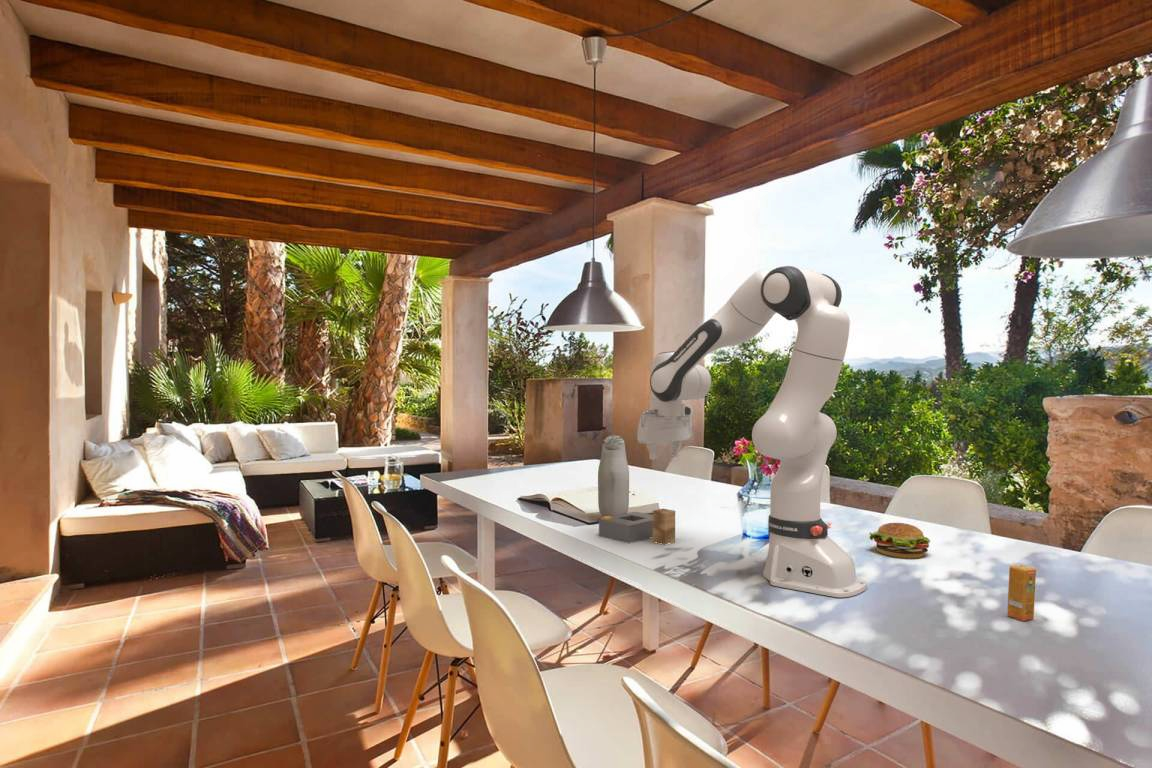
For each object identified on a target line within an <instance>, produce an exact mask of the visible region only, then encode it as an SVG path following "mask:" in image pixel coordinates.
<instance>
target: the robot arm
mask: <svg viewBox="0 0 1152 768" xmlns="http://www.w3.org/2000/svg"><path fill="white" fill-rule="evenodd" d="M842 297H843V295H842V289H841V286H840V284H839V283H838V282H837V281H836V280H835V278H833V277H831V276H830V275H827V274H825V273H820V272H817V271H814V270H813V269H809V268H804V267H795V266H793V265H792V266H791V265H786V266H779V267H778V266H777V267H776V268H773V269H771V270H770V269H766V268H765V269H759V270H756V271H755V272H754V273H753V274H751V275H750V276H749V277H748V278H747V279H746V280H745V281H744V282H742V283H741V285H740V286H739V287H738V288H737V289H736V290H735V291H734V293H732V295H731V297H730V298H728V300H727V301H726V302H725V304H724V305H723V306H722V307H720V309H719V310H718V311H717V312H716V313H714V314H713V315H712V316H711V317H709V319H708V320H706V321H705V322H704V323H702V324H701V325H700V326H699V327H698V328H697V329H695V331H693V333H692V334H690V335H689V336H688V338H687V339H686V340H685V341H684V342H683V343H682V344H681V345H680V347H678V348H677V350H675V351H664V352H660V353H657V354H656V355H654V358H653V361H652V365H651V374H650V379H649V386H650V390H651V394H650V397H649V398H650V399H649V400H650V402H649V409H645V410H644V411H643V412H642V413H641V415H640V419H639V421H638V428H637V437H636V439H637V441H638V444H642V445H646V449H647V451H648V454H649V455H648V457H649V460H654V461H655V460H658V452H656V447H657V445H656V444H665V443H672V445H673V446H672V449H671V450H670V457H672V458H678V457H679V454H680V453H679V451H680V450H681V447H682V443H683V442H684V441H690V438H691V437H692V431H693V430H692V429H693V422H692V421H693V420H692V417H691V416H693V408H692V407H691V406H689V405H686V404H685V403H682V402H683V401H688V400H689V401H690V400H691V401H692V400H700V399H703V398H705V397H707V396H708V394H709V393H710V391H711V389H712V385H713V379H712V376H711V372H710V371H709V369H708V368H707V367H706V366H703V365H700V364H699V363H700V362H701V361H702V360H703V359H704V358H705V357H706V356H707V355H709V354H710V353H712V352H714V351H716V350H719V349H721V348H725V347H730V346H735V345H741V344H745V343H747V342H749V341H750V340H752V339H753V338H755V337H756V336H757V335H758V334H759V333H760V332H761V331H762V330H763V329H764V328H765V327H766V325H768V323H769V321H771V319H772V318H773V316H774V315H776V314H778V315H780V316H782V317H783V318H784V319H786V321H793V320H794V321H795V323H796V324H797V334H796V338H795V341H794V344H793V349H792V352H791V355H790V359H789V362H788V366H787V369H786V372H785V377H784V379H783V380H782V383H781V385H780V387H779V390H778V391H777V393H776V395H775V397H774V399H773V400H772V402H771V404H770V405H769V407H768V408H767V410H766V411H765V413H764V414H763V415H762V416H761V417H760V418H759V419H758V420H756V422H755V423H754V425H753V427H752V431H751V438H752V439H751V440H752V443H753V446H754V447H755V449H756V451H758V453H760V454H761V455H762V456H763V457H767V458H770V459H775V460H780V462H779V465H778V469H777V471H776V473H775V475H774V476H773V478H771V482H770V493H769V494H770V504H769V506H770V510H769V511H770V514H769V515H768V521H767V522H768V524H767V526H768V527H767V532H768V538H769V540H768V549H767V556H766V562H765V565H764V569H763V572H762V576H763V577H764V578H765V579H766V580H768V581H769V584H770V585H772V586H774V587H778V588H785V589H789V590H796V591H800V592H807V593H811V594H817V595H822V596H827V597H828V596H829V597H833V598H849V597H853V596H856V595H859V594H862V593H863V592H864V591H865V590H866V589H867V587H868V585H867V581H866V580H865V579H862V578H859V577H857V573H856V572H857V571H856V566H855V562H854V560H853V557H852V556H851V555H850V554H849V553H848V552H846V551H845V550H844V549H843V548H842V547H841V546H840V545H838V544H837V543H836V542H835V541H834V540H833V539H832V538H831V537H830V536H829V533H828V530H829V529H831V528H832V526H831V525H832V523H831V522H830V523H825V521H824V520H823V519H822V518H821V492H822V491H821V489H822V480H823V475H824V472H825V471H824V470H825V467H826V464H827V463H826V462H827V459H828V456H829V453H830V451H831V450H830V449H831V447H832V446H833V445H834V444H835V442H836V440H837V433H838V432H837V427H836V424H835V422H834V420H833V419H832V418H831V417H830V416H828V415H827V414H825V413H823V412H820V411H821V410H822V408H823V406H824V405H825V403H826V402H827V401H828V400H829V399H830V398H831V397H832V395H833V394H834V393H835V390H836V387H837V384H838V379H839V376H840V372H841V371H842V366H843V363H844V360H845V356H846V353H847V347H848V343H849V337H850V336H849V335H850V326H851V324H850V323H851V320H850V317H849V314H848V313H846V311H844V310H843V309H842V308H840V307H839V306H840V305H841V302H842Z"/></svg>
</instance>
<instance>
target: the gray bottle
mask: <svg viewBox="0 0 1152 768" xmlns="http://www.w3.org/2000/svg"><path fill="white" fill-rule="evenodd" d="M597 492H598V493H597V502H598V504H597V505H598V510H599V514H600V516H601V518H602V517H605V516H610V517H611V516H615V515H620V514H625V513H629V506H630V504H629V503H630V468H629V463H628V460H627V453H626V444H625V440H624V439H623V438H622V436H620V435H616V434H612V435H608V436H606V437H605V438H604V439H603V441H602V445H601V455H600V460H599V465H598V471H597Z"/></svg>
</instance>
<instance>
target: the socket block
mask: <svg viewBox="0 0 1152 768" xmlns="http://www.w3.org/2000/svg"><path fill="white" fill-rule="evenodd" d="M598 536H599V537H603V538H607V539H610V540H615V541H618V540H619V541H618V542H622V541H623V543H626V542H628V543H627V544H632V543H636V542H640V541H644V540H646V538H648V539H651V538H650V537H652V538H653V514H651V513H644V512H640V511H630V512H627V513H625V514H620V515H615V516H611V517H610V516H605V517H602V516H601V518H598ZM643 539H644V540H643ZM639 540H640V541H639ZM635 541H636V542H635ZM631 542H632V543H631Z"/></svg>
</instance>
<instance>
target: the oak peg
mask: <svg viewBox="0 0 1152 768" xmlns="http://www.w3.org/2000/svg"><path fill="white" fill-rule="evenodd" d="M652 515H653V537H652V543H654V542H657V543H656V544H658V543H662V544H668V543H672V542H675V543H676V510H674V509H668V508H657V509H655V510H654V509H653V510H652ZM662 544H661V545H662ZM672 544H673V543H672ZM668 545H669V544H668Z"/></svg>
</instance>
